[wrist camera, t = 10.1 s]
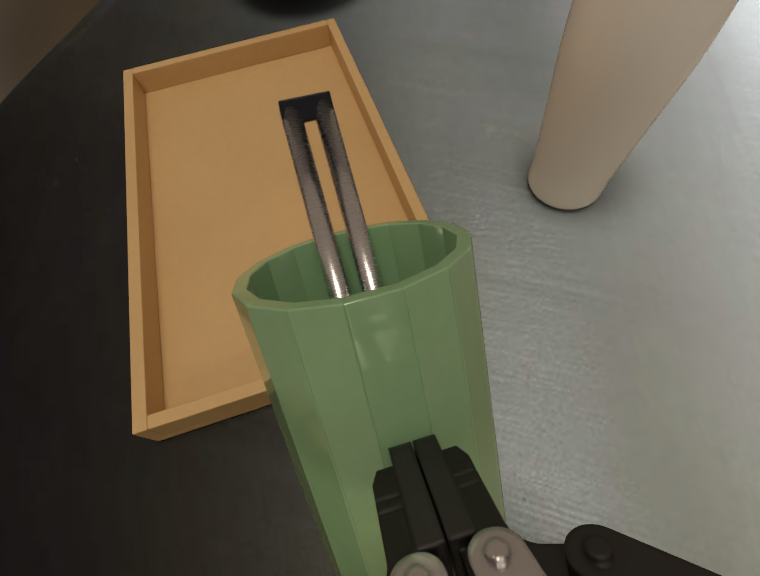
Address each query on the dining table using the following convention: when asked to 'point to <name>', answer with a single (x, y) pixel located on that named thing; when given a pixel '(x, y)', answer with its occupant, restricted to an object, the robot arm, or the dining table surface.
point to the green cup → (371, 371)
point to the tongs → (325, 242)
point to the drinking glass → (614, 87)
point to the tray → (230, 207)
